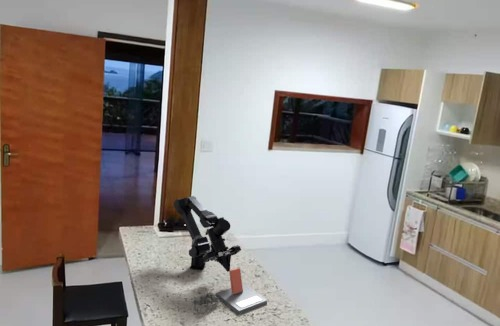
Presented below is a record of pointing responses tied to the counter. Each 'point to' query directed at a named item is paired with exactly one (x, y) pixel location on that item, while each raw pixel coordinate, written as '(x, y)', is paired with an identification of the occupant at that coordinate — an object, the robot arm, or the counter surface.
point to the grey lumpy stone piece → (203, 299)
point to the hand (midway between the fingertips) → (228, 271)
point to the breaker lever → (236, 281)
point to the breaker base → (241, 299)
